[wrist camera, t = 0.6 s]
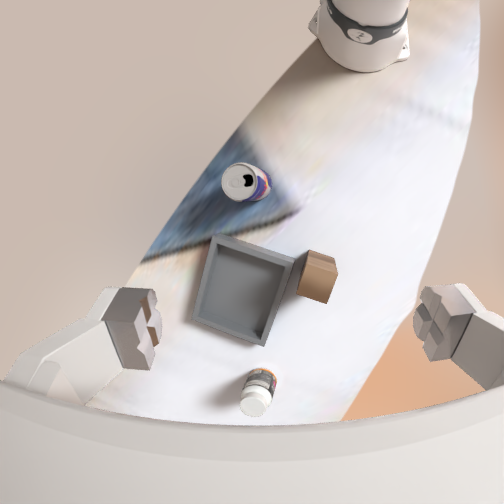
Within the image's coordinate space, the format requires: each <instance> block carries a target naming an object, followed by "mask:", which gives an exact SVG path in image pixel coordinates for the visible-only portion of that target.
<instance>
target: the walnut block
mask: <svg viewBox="0 0 504 504" xmlns="http://www.w3.org/2000/svg"><path fill="white" fill-rule="evenodd" d="M337 276H338V272H337V268H336V264H335V260H334V258H332V257H329V256H326V255H323V254H320V253H317V252H315V251H312V250H309V252H308V255H307V258H306V261H305V264H304V266H303V269H302V272H301V275H300V280H299V284H298V288H297V292H296V294H298V295H301V296H304V297H307V298H310V299H313V300H316V301H319V302H322V303H325V304H327V302H328V299H329V297H330V294H331V292H332V289H333V286H334V284H335V281H336V278H337Z"/></svg>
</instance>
